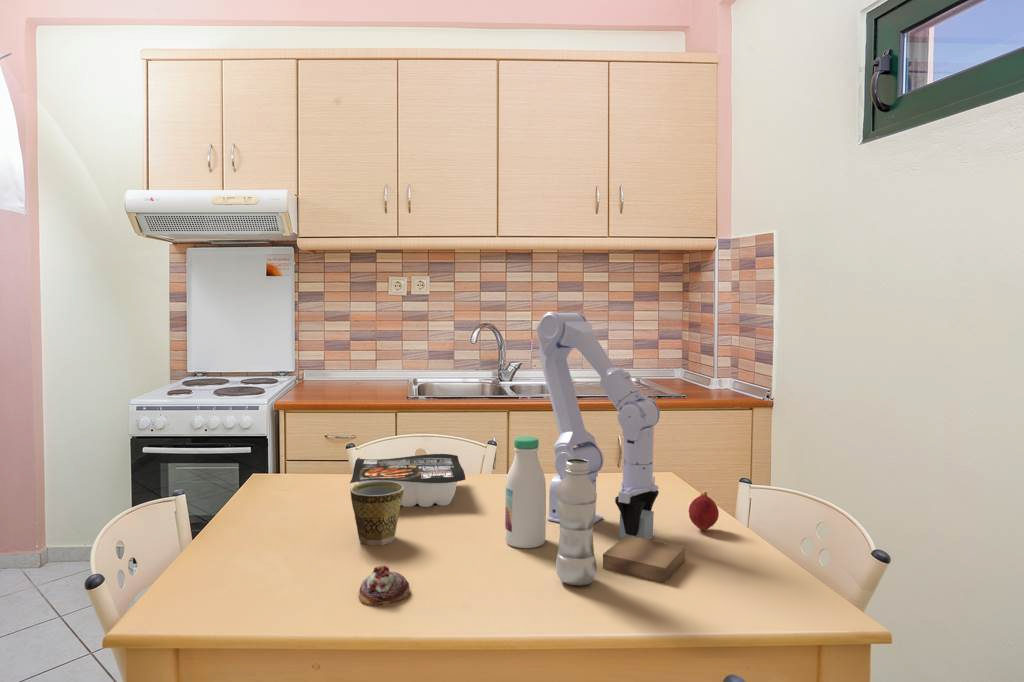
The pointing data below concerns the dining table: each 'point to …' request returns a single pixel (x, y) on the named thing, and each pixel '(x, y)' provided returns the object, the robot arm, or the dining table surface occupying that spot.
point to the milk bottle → (525, 497)
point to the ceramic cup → (376, 510)
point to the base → (644, 558)
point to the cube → (641, 525)
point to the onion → (703, 512)
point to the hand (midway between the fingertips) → (636, 530)
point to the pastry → (383, 587)
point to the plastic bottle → (576, 525)
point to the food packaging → (415, 476)
